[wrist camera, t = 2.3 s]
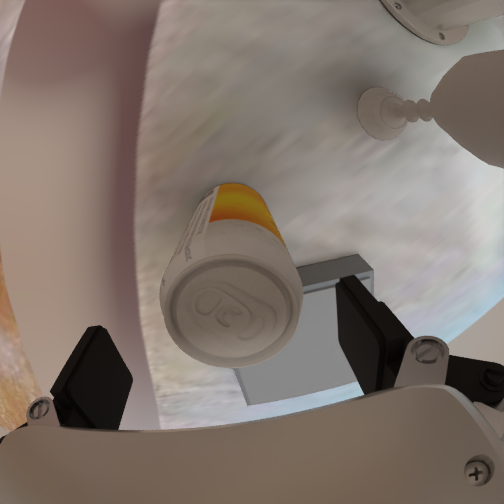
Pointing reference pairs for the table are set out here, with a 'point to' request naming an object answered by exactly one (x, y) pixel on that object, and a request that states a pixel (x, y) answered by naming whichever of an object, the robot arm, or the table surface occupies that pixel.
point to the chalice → (449, 107)
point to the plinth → (309, 340)
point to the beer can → (231, 282)
